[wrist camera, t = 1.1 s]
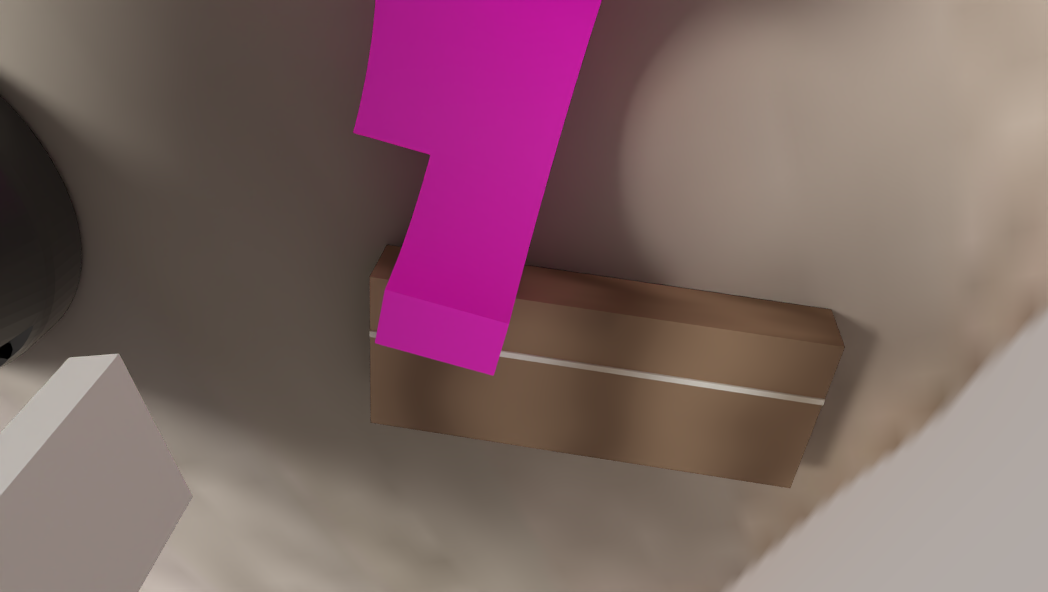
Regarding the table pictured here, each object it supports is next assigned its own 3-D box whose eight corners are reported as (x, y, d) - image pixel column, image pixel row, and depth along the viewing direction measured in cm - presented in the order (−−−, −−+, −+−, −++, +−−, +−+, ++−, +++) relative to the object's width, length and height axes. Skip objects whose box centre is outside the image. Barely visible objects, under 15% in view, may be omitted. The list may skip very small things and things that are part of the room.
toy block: (438, -250, 23) (362, -260, 17) (652, -186, 23) (657, -170, 17) (364, 210, 31) (294, 321, 25) (522, 255, 31) (493, 375, 25)
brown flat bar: (386, 385, 35) (370, 423, 33) (386, 244, 32) (369, 278, 29) (781, 446, 35) (790, 489, 32) (831, 309, 31) (845, 348, 29)
